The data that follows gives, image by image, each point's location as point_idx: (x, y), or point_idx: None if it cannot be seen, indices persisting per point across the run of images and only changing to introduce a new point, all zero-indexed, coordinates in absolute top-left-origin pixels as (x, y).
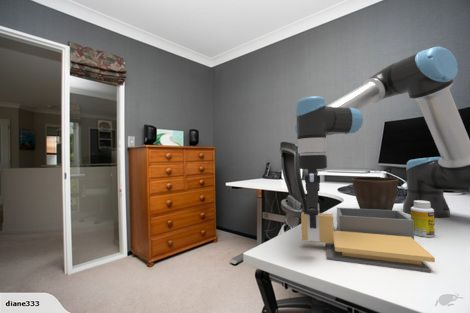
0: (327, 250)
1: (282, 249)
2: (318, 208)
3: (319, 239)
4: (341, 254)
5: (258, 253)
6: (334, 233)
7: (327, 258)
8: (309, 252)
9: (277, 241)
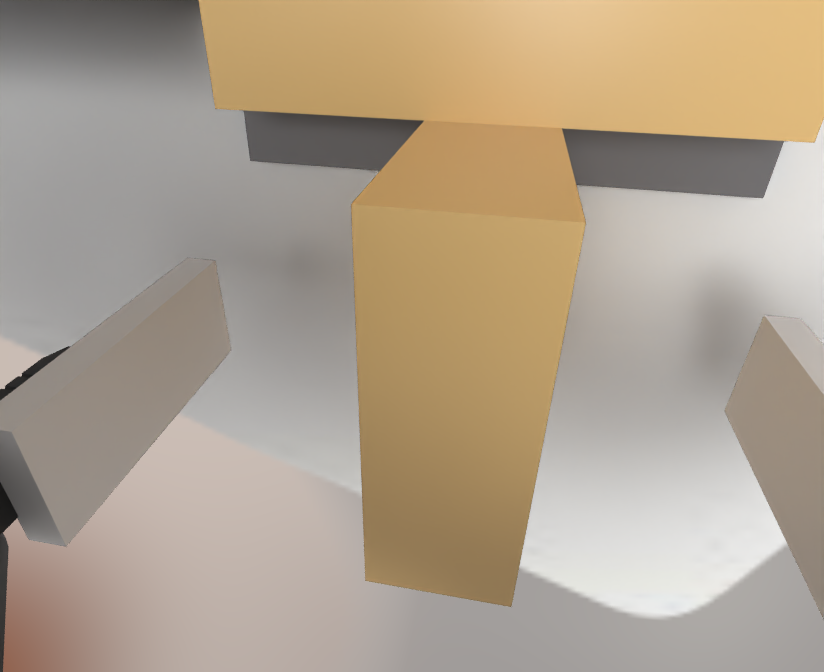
0: (594, 176)
1: (573, 474)
2: (77, 385)
3: (801, 328)
4: None
5: (659, 584)
6: (323, 92)
7: (759, 190)
8: (607, 314)
9: None
